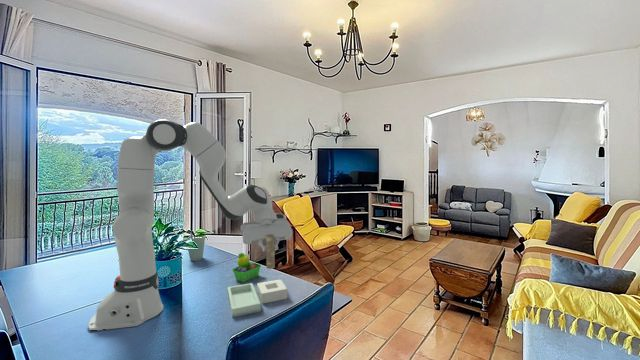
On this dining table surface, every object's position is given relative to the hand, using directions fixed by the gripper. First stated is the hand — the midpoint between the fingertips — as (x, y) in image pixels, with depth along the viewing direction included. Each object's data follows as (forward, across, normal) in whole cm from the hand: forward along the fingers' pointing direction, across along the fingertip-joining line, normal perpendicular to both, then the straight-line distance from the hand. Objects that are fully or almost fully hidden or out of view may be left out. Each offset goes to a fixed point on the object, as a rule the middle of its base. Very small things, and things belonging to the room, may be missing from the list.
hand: (270, 250), depth 119 cm
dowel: (+5, 0, +6) cm, 7 cm away
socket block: (+13, 0, +14) cm, 19 cm away
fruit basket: (-3, -7, +30) cm, 31 cm away
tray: (+14, -11, +13) cm, 22 cm away
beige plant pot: (-29, -29, +57) cm, 70 cm away
